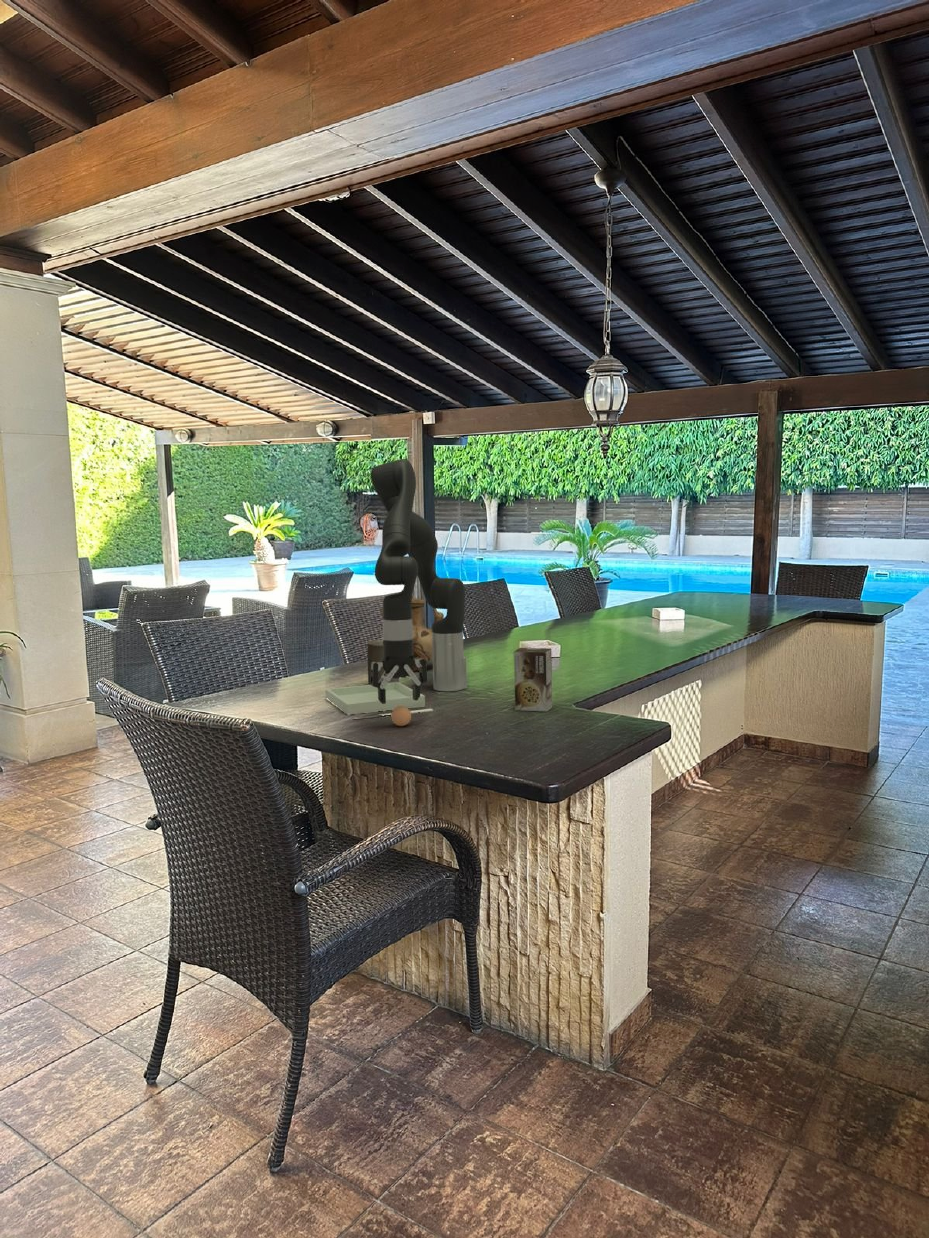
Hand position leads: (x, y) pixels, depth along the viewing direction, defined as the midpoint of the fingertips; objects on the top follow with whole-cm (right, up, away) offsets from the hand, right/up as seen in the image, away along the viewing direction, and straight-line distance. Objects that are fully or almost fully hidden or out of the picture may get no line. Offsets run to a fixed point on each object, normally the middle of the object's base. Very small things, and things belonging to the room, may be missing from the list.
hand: (399, 701), depth 219 cm
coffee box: (+35, -4, +17) cm, 39 cm away
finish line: (-3, -5, +13) cm, 14 cm away
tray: (-9, -3, +27) cm, 29 cm away
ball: (0, -4, +1) cm, 4 cm away
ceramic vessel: (0, +3, +78) cm, 78 cm away
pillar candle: (-8, 0, +50) cm, 51 cm away
